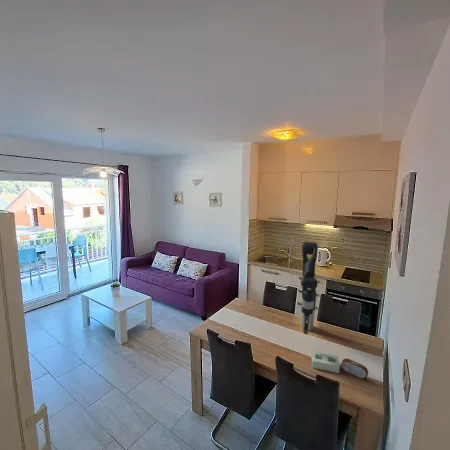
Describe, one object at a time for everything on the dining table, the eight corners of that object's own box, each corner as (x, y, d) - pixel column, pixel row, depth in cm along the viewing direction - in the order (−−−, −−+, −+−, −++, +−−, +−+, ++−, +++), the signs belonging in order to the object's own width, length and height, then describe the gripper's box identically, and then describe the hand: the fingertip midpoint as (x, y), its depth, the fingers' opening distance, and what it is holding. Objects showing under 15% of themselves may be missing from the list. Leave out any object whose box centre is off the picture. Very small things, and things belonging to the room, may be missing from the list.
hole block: (311, 357, 172) (312, 350, 171) (336, 362, 168) (337, 355, 167) (312, 367, 163) (312, 360, 162) (338, 373, 158) (339, 366, 157)
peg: (303, 331, 176) (304, 318, 174) (307, 332, 175) (308, 318, 173) (303, 333, 173) (304, 320, 171) (307, 334, 172) (308, 321, 170)
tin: (367, 378, 154) (369, 366, 152) (366, 382, 152) (368, 369, 150) (341, 367, 163) (343, 355, 162) (340, 369, 161) (341, 358, 160)
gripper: (301, 300, 178) (300, 322, 181) (301, 310, 165) (300, 333, 168) (312, 301, 176) (311, 324, 179) (313, 311, 163) (312, 335, 166)
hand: (305, 328), depth 173 cm, fingers closed on peg, 3 cm apart
